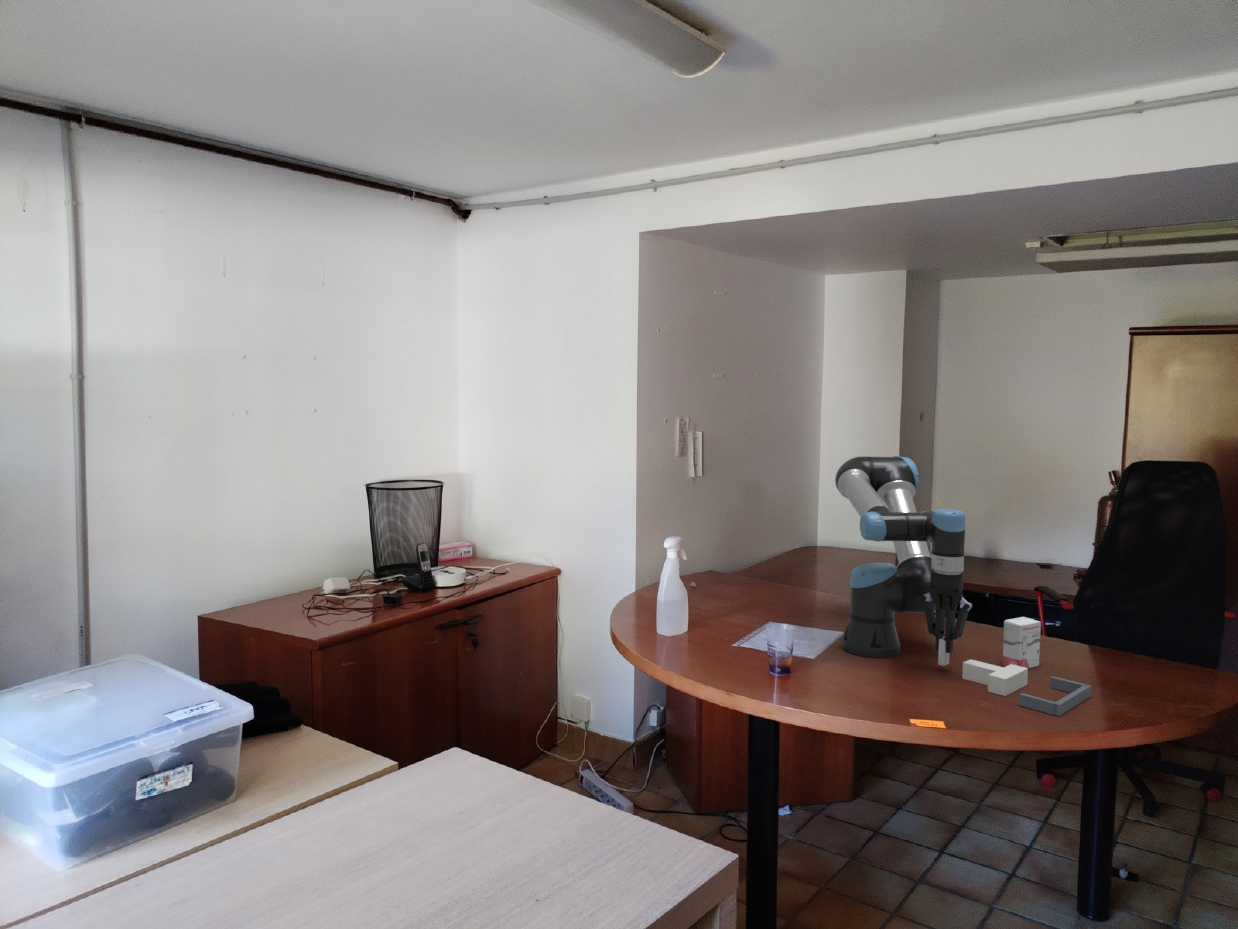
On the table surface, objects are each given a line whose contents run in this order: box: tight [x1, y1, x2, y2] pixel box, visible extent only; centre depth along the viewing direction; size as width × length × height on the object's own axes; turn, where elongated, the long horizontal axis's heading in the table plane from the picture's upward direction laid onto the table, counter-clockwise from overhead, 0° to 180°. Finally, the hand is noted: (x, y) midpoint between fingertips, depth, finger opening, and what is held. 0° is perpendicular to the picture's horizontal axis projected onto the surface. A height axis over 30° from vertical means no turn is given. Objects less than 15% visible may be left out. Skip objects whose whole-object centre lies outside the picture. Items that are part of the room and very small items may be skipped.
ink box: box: [1002, 616, 1042, 669], centre depth 202 cm, size 9×5×12 cm, turn 118°
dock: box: [1018, 675, 1092, 717], centre depth 178 cm, size 8×18×2 cm, turn 131°
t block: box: [962, 658, 1029, 697], centre depth 189 cm, size 12×12×4 cm
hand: (943, 664), depth 198 cm, fingers closed
